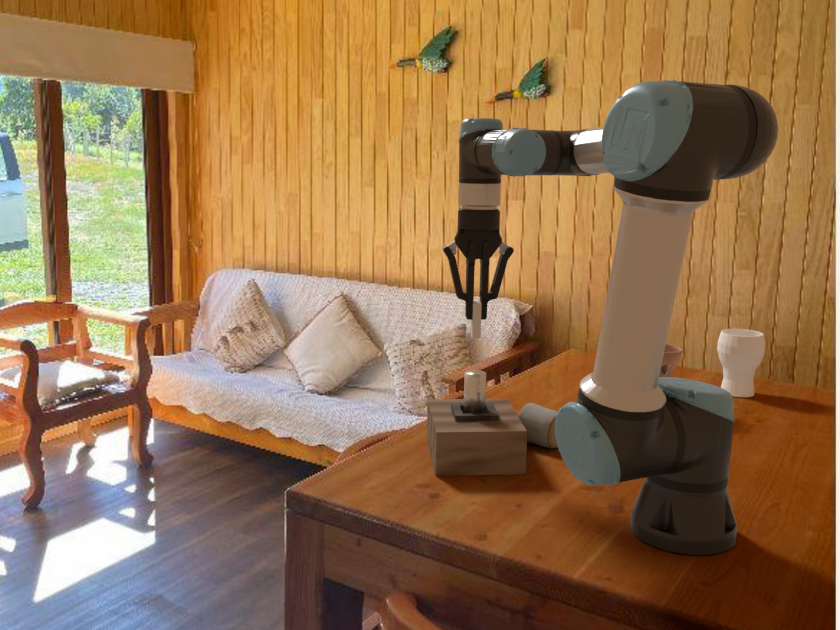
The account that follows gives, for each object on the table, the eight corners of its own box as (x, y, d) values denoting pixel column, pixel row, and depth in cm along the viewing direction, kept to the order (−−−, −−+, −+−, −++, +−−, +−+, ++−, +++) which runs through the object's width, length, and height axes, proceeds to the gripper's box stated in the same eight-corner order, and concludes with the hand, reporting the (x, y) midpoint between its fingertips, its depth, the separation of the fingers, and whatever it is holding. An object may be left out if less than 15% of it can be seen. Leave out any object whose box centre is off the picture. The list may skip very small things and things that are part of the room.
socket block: (525, 474, 145) (527, 425, 143) (435, 475, 144) (436, 426, 142) (506, 437, 164) (507, 393, 163) (426, 438, 163) (427, 394, 162)
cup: (708, 386, 203) (712, 327, 201) (751, 387, 203) (756, 328, 200) (721, 399, 193) (726, 336, 190) (767, 400, 193) (773, 337, 190)
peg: (486, 420, 151) (487, 375, 149) (464, 420, 151) (465, 375, 149) (483, 413, 155) (484, 370, 153) (462, 413, 155) (463, 370, 153)
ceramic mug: (549, 454, 155) (551, 415, 154) (514, 444, 160) (515, 406, 159) (578, 441, 163) (581, 404, 162) (544, 432, 168) (546, 396, 167)
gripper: (511, 206, 150) (507, 332, 154) (440, 205, 149) (438, 332, 153) (519, 209, 142) (514, 341, 147) (444, 208, 142) (442, 341, 146)
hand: (475, 336), depth 150 cm, fingers closed
